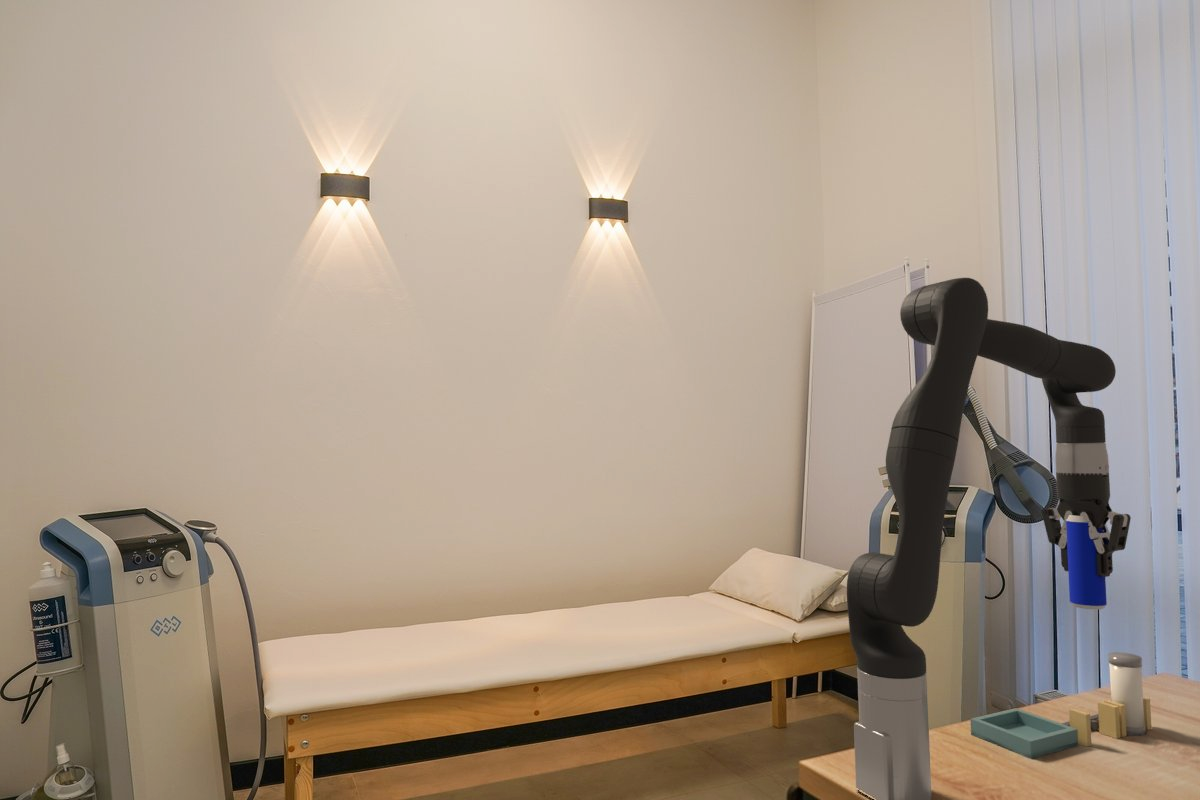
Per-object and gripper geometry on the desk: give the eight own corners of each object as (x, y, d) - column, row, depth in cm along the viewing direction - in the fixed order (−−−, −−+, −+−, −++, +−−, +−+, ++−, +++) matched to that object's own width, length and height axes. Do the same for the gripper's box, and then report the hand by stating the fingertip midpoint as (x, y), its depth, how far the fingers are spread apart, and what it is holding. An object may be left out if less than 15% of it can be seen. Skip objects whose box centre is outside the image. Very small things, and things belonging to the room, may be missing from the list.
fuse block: (1085, 747, 124) (1084, 715, 124) (1052, 734, 129) (1050, 704, 130) (1151, 728, 131) (1149, 698, 131) (1117, 718, 136) (1115, 689, 136)
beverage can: (1096, 603, 131) (1092, 513, 131) (1113, 610, 125) (1108, 516, 126) (1064, 603, 131) (1059, 513, 132) (1079, 609, 126) (1075, 516, 127)
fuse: (1134, 737, 128) (1130, 661, 128) (1105, 727, 132) (1101, 654, 132) (1152, 732, 129) (1148, 657, 130) (1123, 723, 134) (1119, 651, 134)
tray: (1031, 758, 120) (1030, 741, 120) (971, 734, 130) (970, 718, 130) (1078, 745, 125) (1077, 729, 125) (1016, 723, 135) (1016, 708, 135)
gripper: (1027, 469, 134) (1031, 569, 133) (1110, 472, 121) (1116, 582, 120) (1056, 468, 137) (1060, 565, 137) (1141, 471, 124) (1146, 578, 123)
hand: (1086, 573), depth 128 cm, fingers closed on beverage can, 5 cm apart
